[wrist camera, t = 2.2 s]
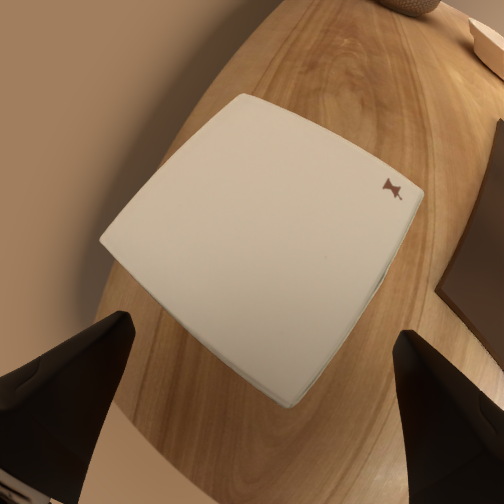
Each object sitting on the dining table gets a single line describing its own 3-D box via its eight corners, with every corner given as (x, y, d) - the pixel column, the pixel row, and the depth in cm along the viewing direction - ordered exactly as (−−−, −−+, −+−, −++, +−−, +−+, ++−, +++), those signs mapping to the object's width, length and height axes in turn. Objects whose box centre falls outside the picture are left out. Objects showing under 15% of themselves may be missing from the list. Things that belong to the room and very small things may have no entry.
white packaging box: (261, 223, 21) (244, 84, 9) (344, 280, 19) (435, 190, 7) (198, 300, 19) (90, 236, 7) (281, 366, 17) (295, 419, 5)
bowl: (472, 67, 28) (485, 38, 20) (450, 31, 34) (458, 8, 26) (539, 117, 24) (555, 96, 16) (512, 70, 30) (522, 51, 22)
